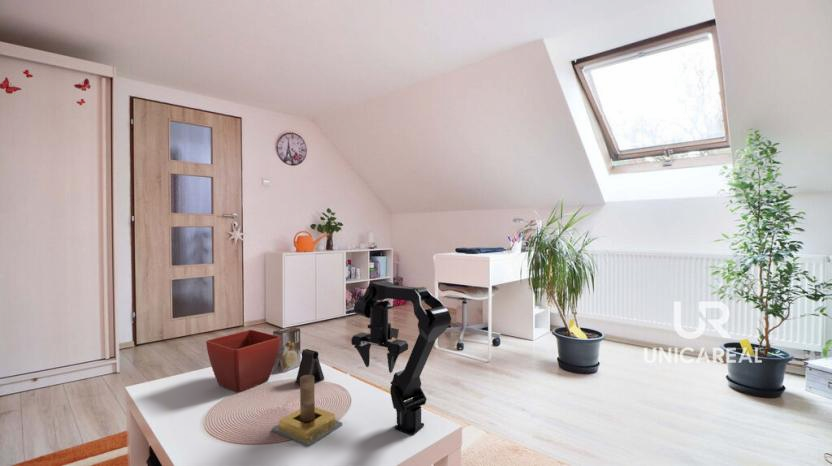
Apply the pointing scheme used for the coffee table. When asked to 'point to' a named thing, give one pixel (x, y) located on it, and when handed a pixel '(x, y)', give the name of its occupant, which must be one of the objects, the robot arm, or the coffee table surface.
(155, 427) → the coffee table surface
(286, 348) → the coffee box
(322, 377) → the phone stand
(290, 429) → the socket
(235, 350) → the plant pot
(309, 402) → the pin
